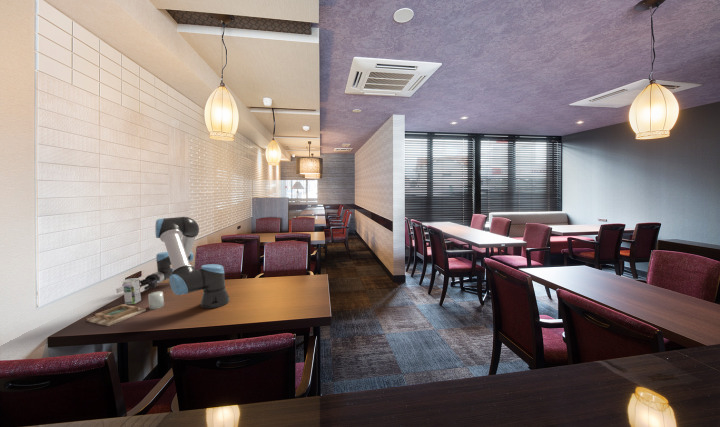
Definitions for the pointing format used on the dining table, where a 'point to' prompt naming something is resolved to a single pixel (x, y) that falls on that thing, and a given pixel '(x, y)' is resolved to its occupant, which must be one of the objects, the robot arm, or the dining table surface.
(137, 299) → the syrup box
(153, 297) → the white rounded cylinder
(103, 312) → the wooden square frame
